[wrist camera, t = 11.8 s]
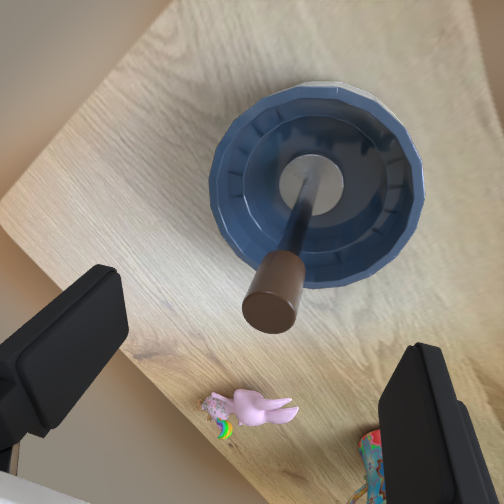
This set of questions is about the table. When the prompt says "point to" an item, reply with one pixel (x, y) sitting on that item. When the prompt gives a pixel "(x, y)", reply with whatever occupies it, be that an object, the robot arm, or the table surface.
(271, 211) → the bowl
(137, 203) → the table surface
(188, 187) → the table surface
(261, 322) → the wood-topped metal stand
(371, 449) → the mug
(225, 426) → the rabbit figure
